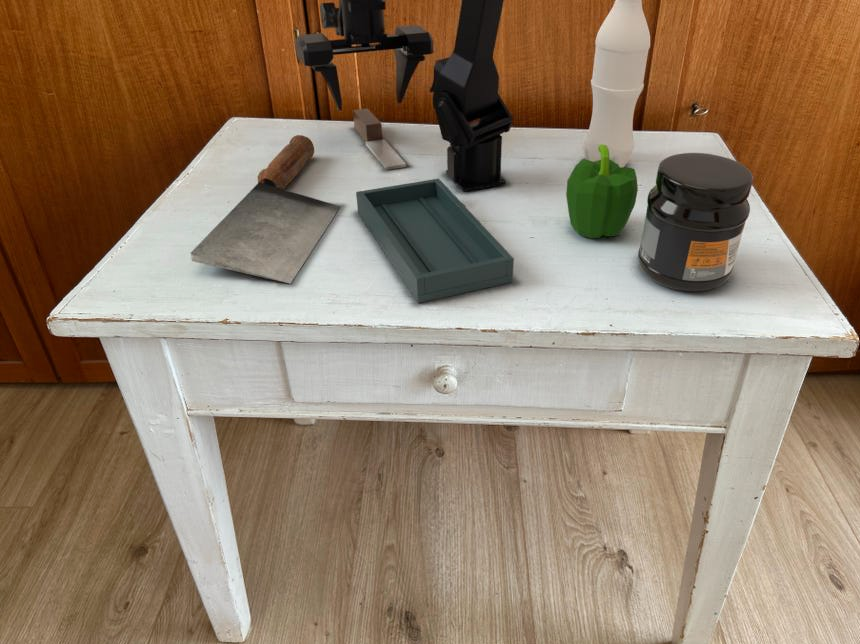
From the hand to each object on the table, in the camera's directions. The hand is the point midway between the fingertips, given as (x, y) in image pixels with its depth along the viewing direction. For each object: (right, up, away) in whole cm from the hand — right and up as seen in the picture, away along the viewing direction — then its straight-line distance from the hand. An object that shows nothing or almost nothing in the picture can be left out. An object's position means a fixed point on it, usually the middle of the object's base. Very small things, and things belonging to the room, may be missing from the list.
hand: (369, 106), depth 105 cm
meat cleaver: (-7, -19, -16) cm, 26 cm away
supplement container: (+39, -28, -25) cm, 54 cm away
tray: (+11, -24, -22) cm, 34 cm away
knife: (+1, -6, +1) cm, 6 cm away
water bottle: (+35, -9, -2) cm, 36 cm away
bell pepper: (+31, -22, -18) cm, 42 cm away
